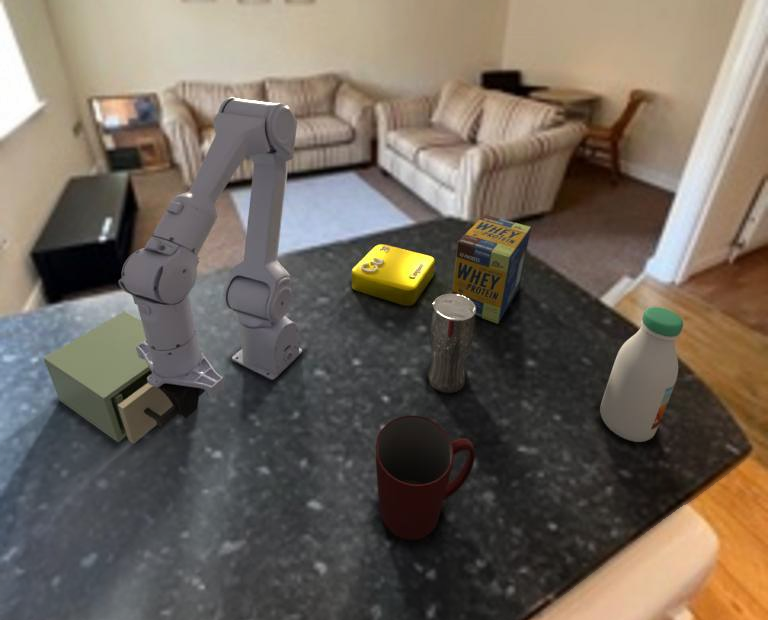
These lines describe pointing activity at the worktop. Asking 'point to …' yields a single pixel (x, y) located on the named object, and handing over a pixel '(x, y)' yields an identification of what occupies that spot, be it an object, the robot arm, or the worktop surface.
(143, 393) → the drawer
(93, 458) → the worktop surface
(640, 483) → the worktop surface
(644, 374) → the milk bottle
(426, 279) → the element tile
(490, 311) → the protein box
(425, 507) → the mug
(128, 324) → the cabinet
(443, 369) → the beer glass
